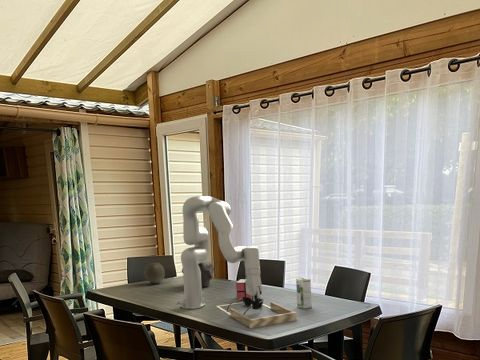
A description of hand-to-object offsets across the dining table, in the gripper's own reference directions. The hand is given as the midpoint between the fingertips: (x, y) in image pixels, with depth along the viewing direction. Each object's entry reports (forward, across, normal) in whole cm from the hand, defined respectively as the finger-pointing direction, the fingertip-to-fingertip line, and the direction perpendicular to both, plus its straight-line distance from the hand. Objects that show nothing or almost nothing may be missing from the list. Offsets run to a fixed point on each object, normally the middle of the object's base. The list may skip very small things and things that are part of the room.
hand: (256, 308), depth 206 cm
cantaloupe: (-2, -108, -29) cm, 111 cm away
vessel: (-1, -80, -6) cm, 80 cm away
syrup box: (+3, +3, +26) cm, 26 cm away
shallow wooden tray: (+2, +9, -1) cm, 9 cm away
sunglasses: (+2, -9, -3) cm, 9 cm away
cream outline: (+2, -13, -1) cm, 13 cm away
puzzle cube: (+2, -31, +9) cm, 32 cm away
